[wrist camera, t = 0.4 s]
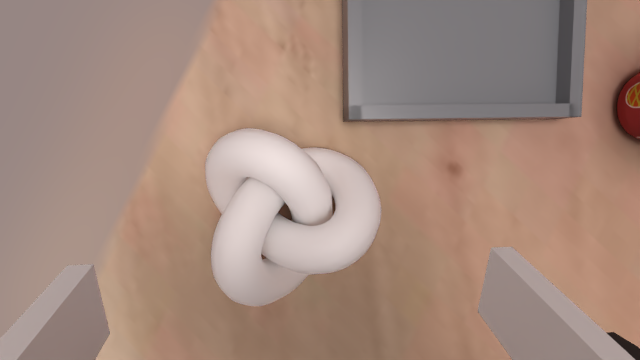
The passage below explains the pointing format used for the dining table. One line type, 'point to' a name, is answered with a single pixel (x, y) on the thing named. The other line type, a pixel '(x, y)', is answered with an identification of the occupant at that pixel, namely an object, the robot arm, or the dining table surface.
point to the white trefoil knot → (274, 229)
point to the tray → (462, 59)
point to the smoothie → (630, 106)
